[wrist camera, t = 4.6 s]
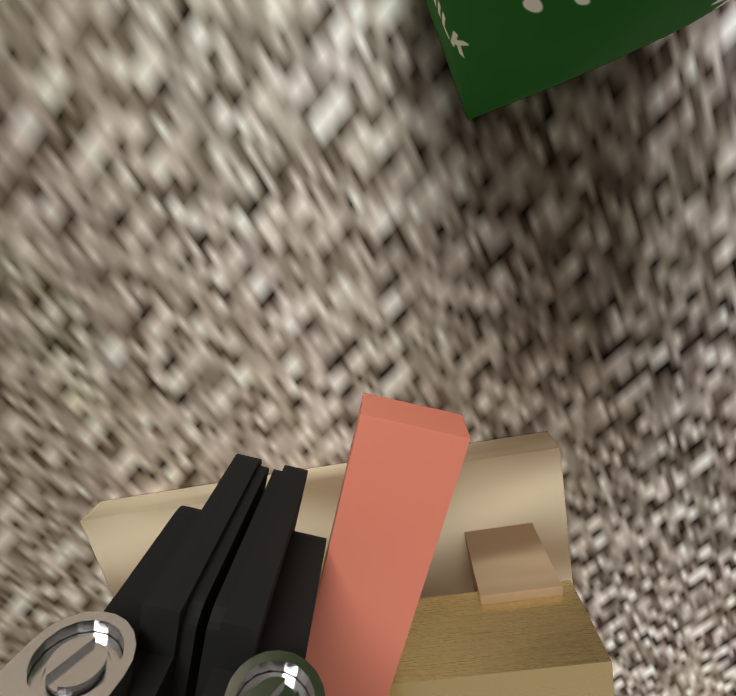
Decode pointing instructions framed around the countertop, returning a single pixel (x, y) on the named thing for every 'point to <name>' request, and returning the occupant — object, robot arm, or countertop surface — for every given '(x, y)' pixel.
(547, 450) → the board
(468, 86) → the milk carton
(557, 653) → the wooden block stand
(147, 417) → the countertop surface
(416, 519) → the lever
